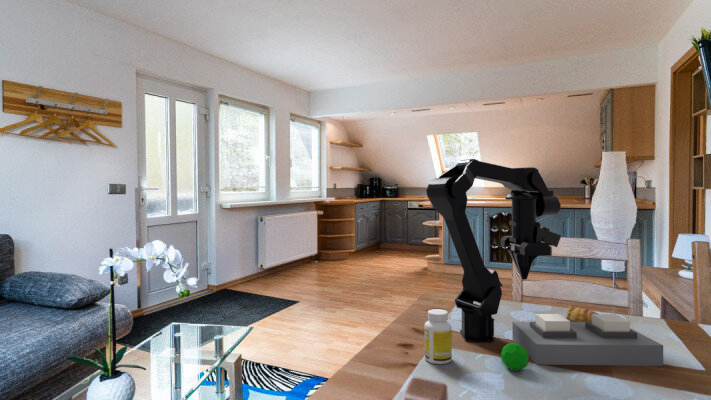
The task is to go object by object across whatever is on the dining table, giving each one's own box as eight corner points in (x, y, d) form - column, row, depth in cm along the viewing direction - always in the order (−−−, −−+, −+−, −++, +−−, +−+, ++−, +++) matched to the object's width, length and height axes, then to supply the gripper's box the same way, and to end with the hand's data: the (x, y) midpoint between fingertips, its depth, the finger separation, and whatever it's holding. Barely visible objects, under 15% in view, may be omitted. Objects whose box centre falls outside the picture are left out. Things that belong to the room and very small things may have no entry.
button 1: (545, 335, 83) (545, 321, 83) (535, 327, 88) (535, 313, 88) (570, 335, 83) (569, 321, 83) (558, 327, 88) (558, 314, 88)
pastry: (610, 324, 103) (610, 309, 103) (606, 331, 98) (606, 315, 98) (570, 317, 109) (570, 303, 109) (563, 323, 104) (563, 309, 104)
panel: (537, 364, 79) (536, 338, 79) (512, 338, 93) (512, 316, 93) (663, 365, 78) (663, 339, 78) (619, 339, 92) (619, 317, 91)
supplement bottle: (456, 359, 82) (456, 311, 82) (442, 367, 78) (441, 317, 78) (434, 352, 85) (433, 306, 85) (419, 359, 82) (419, 311, 81)
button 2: (604, 335, 82) (604, 321, 82) (591, 327, 87) (591, 314, 87) (629, 335, 82) (629, 321, 82) (615, 327, 87) (615, 314, 87)
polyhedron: (502, 373, 75) (502, 348, 75) (499, 362, 80) (499, 338, 80) (531, 375, 74) (531, 350, 74) (526, 364, 79) (526, 340, 79)
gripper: (575, 219, 91) (575, 287, 92) (541, 215, 110) (541, 272, 110) (525, 220, 92) (525, 287, 92) (499, 215, 111) (500, 272, 111)
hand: (524, 279), depth 101 cm, fingers closed
